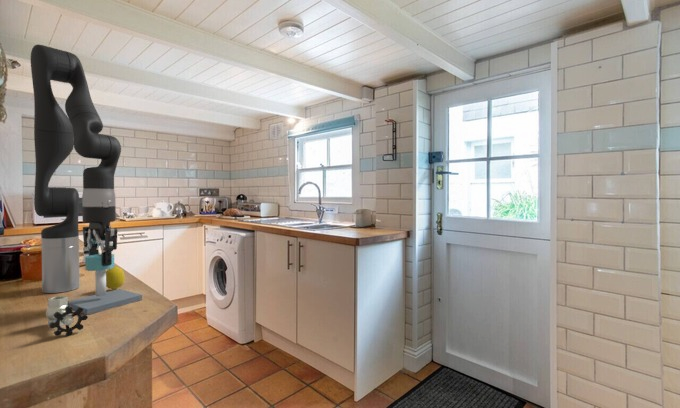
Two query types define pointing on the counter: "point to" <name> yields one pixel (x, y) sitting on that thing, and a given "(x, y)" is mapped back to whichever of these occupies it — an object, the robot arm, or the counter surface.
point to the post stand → (103, 297)
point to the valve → (63, 315)
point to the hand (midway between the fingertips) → (100, 263)
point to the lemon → (114, 278)
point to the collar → (96, 263)
